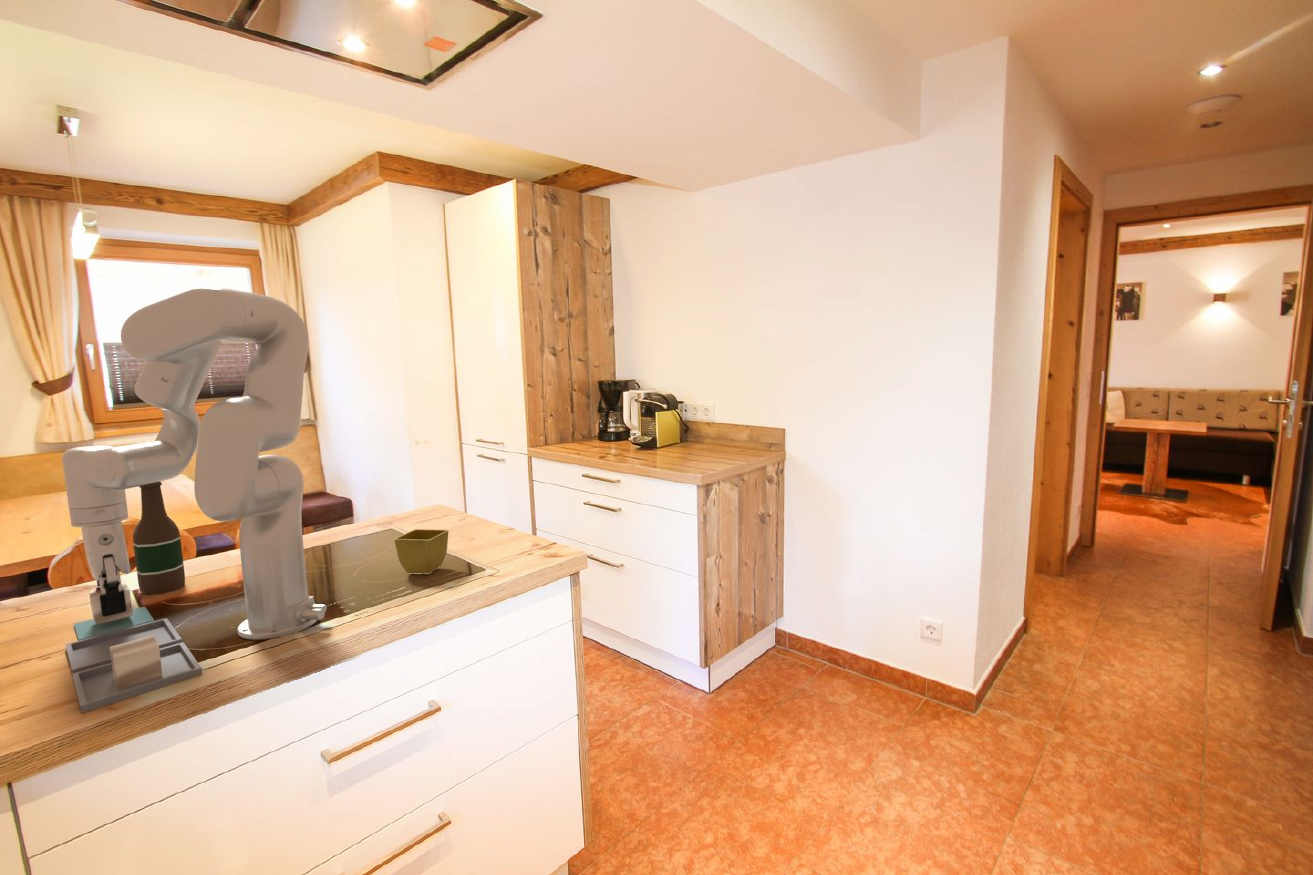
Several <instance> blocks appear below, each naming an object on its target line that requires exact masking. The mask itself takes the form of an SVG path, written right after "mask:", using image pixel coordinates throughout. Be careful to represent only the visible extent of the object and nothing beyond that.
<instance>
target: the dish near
mask: <svg viewBox="0 0 1313 875" xmlns="http://www.w3.org/2000/svg"><path fill="white" fill-rule="evenodd" d="M159 651H160V659H161V667H162V675H163V676H160V677H157V678H154V679H151V680H147V681H144V682H141V683H138V684H135V685H131V686H128V687H125V688H122V689H119V690H118V688H117V685H116V682H115V680H114V676H113V669H112V663H108V664H105V665H102V666H98V667H95V668H91V669H88V670H84V671H81V672H77V673H74V674H72V679H73V680H72V681H73V684H74V688H75V692H76V695H77V700H78V703H79V708H80V712H81V714H85V713H87V712H90V711H93V710H94V711H95V710H96V709H99V708H103V707H105V706H108V705H112V704H115V703H119V702H121V701H124V700H127V699H131V698H133V697H136V696H139V695H142V694H145V693H149V692H152V691H155V690H157V689H160V688H164V687H167V686H170V685H172V684H176V683H179V682H183V681H185V680H188V679H189V680H190V679H192V678H194V677H197V676H200V675H203V671H202V670H203V669H202V666H201V665H200V663H199V662H198V661H197V659H196V658H195V656H194V655H193V653H192V652H191V651H190V649H189V648H188V647H187V645H186V644H185V643H184V641H182V643H178V644H175V645H171V646H168V647H164V648H161V649H159Z"/></svg>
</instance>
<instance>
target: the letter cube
mask: <svg viewBox="0 0 1313 875" xmlns="http://www.w3.org/2000/svg"><path fill="white" fill-rule="evenodd" d="M122 590H124V595H125V603H126V611H125V612H122V613H118V614H114V615H110V616H106V617H104V616H103V615H102V610H101V603H100V596H99V595H102V594H101V589H98V590H96V589H93V590H90V591H89V593H88V594H89V601H90V606H91V613H92V614H91V615H92V619H94V621H95V624H96V625H97V624H101V623H105V622H109V621H113V620H117V619H121V618H125V617H129V616H133V611H132V610H133V606H132V598H131V591H130V588H129V586H128V585H127V583H122Z"/></svg>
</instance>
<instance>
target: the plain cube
mask: <svg viewBox="0 0 1313 875" xmlns="http://www.w3.org/2000/svg"><path fill="white" fill-rule="evenodd" d="M110 654H111V661H112V669H113V676H114V680H115V682H116V685H117V688H118V690H119V689H122V688H125V687H128V686H131V685H135V684H138V683H141V682H144V681H147V680H151V679H154V678H157V677H160V676H163V675H162V667H161V659H160V651H159V644H158V643H157V641H156V640H155V638H154V636H153V635H152V636H148V637H144V638H141V639H137V640H133V641H130V642H126V643H122V644H119V645H115V646H111V647H110Z"/></svg>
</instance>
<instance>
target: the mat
mask: <svg viewBox="0 0 1313 875" xmlns="http://www.w3.org/2000/svg"><path fill="white" fill-rule="evenodd" d="M132 611H133V616H129V617H125V618H121V619H117V620H113V621H109V622H105V623H101V624H97V625H96V624H95V621H94V619H93V618H92V619H87V620H83V621H79V622H76V623H73V628H74V630H75V633H76V634H75V635H76V637H77V641H80V640H84V639H87V638H91V637H95V636H99V635H103V634H107V633H111V632H115V631H118V630H122V629H126V628H130V627H134V626H138V625H142V624H146V623H149V622H153V621H155V619H154V618H153V616H152V615H151V613H150V612H149V610H148V608H146V606H141V607H137V608H132Z"/></svg>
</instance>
